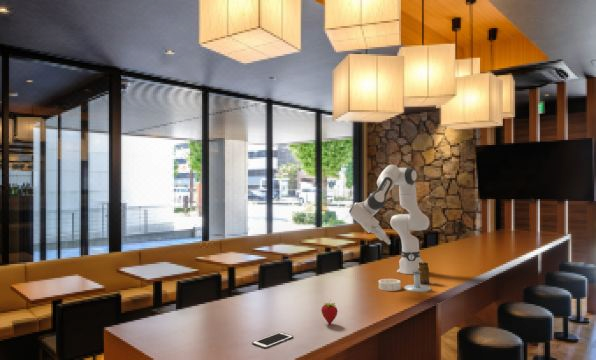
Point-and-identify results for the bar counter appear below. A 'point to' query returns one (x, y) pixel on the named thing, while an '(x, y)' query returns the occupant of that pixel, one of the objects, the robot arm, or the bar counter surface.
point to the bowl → (389, 284)
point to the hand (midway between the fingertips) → (390, 242)
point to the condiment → (424, 273)
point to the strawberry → (329, 312)
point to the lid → (417, 284)
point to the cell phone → (272, 340)
